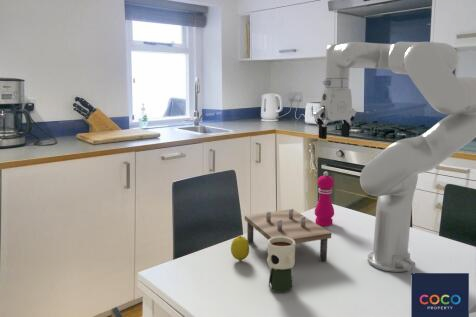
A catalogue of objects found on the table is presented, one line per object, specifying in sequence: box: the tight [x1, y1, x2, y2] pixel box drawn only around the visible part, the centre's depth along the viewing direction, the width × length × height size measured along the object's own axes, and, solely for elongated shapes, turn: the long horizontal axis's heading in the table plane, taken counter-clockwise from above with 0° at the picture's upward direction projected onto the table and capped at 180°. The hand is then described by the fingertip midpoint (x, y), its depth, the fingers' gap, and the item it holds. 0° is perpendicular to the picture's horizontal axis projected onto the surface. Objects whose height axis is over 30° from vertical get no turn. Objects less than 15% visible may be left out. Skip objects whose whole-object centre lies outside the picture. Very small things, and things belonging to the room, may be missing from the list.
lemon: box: [230, 235, 250, 262], centre depth 126 cm, size 6×6×8 cm
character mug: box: [266, 237, 296, 293], centre depth 110 cm, size 11×7×13 cm, turn 25°
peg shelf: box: [244, 208, 332, 263], centre depth 133 cm, size 24×18×12 cm
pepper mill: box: [314, 171, 335, 227], centre depth 157 cm, size 7×7×20 cm
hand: (333, 137), depth 138 cm, fingers open, 9 cm apart
